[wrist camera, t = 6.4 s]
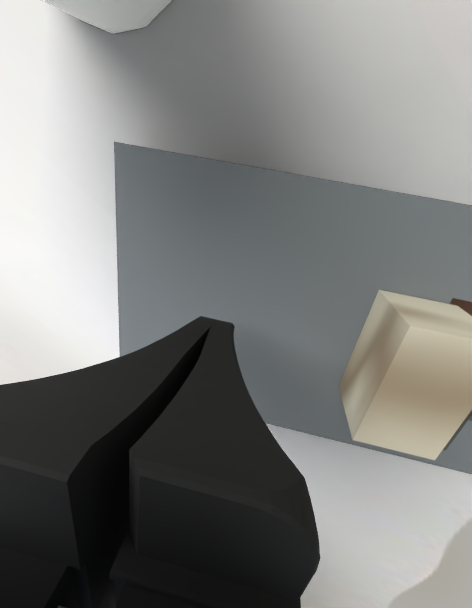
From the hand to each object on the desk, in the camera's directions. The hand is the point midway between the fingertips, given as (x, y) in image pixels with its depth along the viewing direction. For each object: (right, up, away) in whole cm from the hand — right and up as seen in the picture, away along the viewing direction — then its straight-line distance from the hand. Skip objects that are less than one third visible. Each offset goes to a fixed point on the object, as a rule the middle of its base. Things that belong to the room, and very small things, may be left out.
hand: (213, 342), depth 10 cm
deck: (+6, +1, +4) cm, 7 cm away
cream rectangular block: (+8, -1, +1) cm, 8 cm away
